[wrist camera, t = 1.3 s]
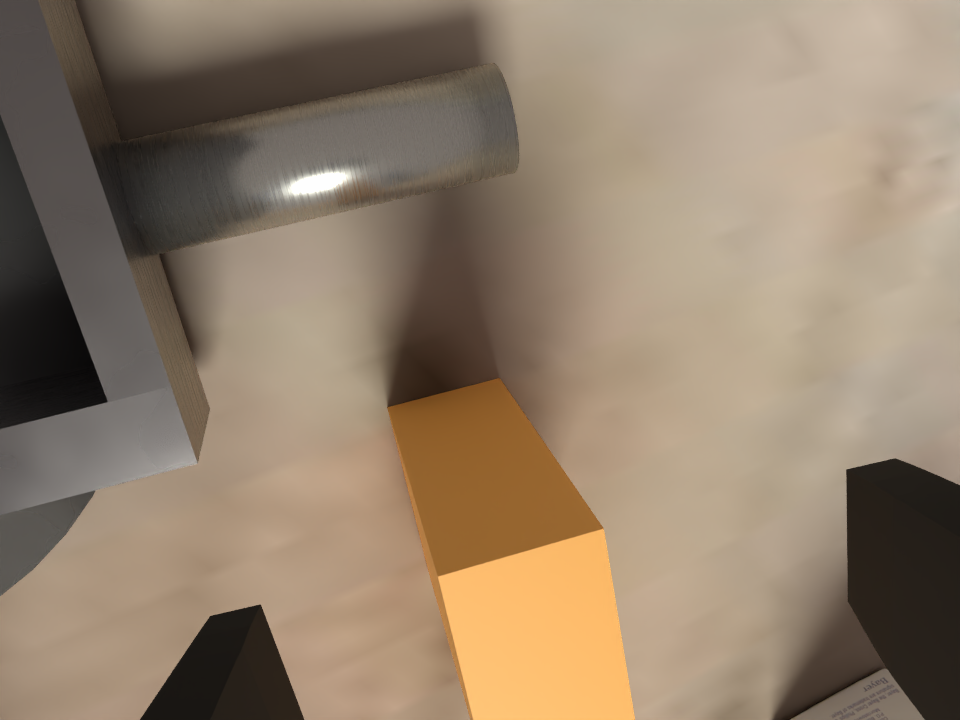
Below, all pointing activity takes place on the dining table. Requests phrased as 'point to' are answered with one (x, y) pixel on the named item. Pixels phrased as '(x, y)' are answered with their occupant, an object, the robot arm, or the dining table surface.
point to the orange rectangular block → (512, 561)
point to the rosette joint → (165, 247)
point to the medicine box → (866, 702)
